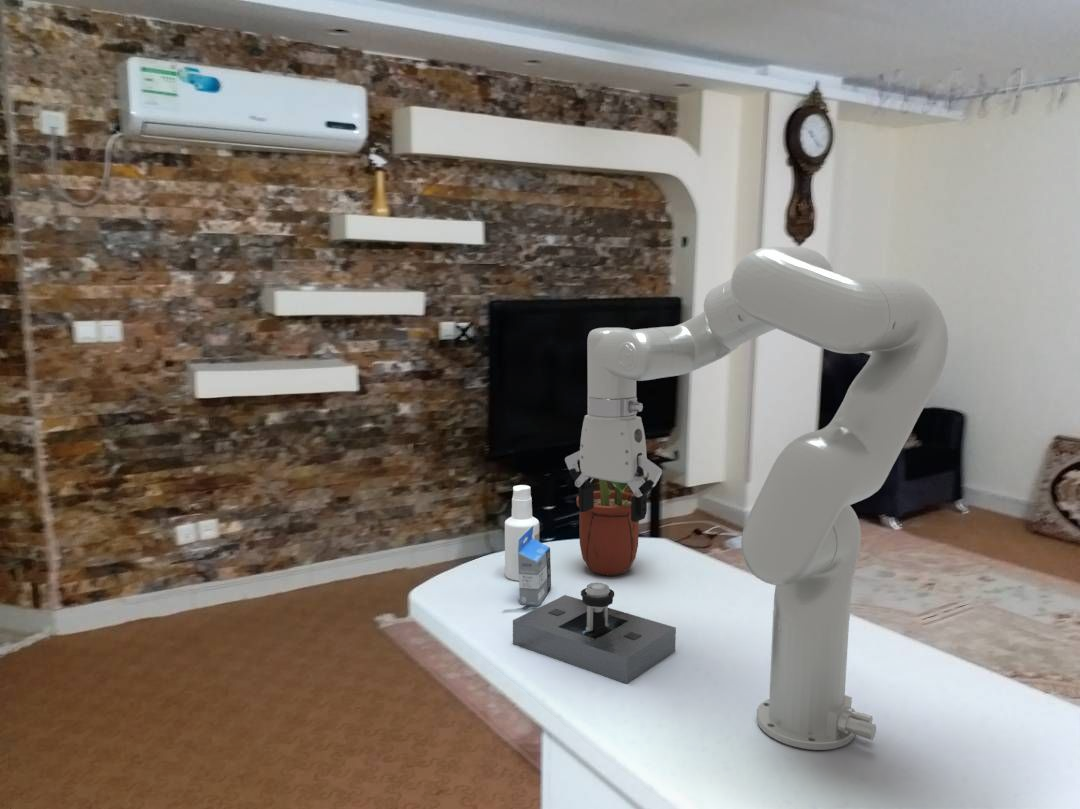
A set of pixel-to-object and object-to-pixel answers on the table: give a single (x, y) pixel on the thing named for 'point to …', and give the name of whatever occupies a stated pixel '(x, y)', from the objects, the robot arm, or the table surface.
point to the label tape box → (533, 570)
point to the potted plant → (609, 531)
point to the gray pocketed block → (610, 655)
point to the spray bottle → (518, 528)
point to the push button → (597, 609)
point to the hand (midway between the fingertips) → (611, 515)
